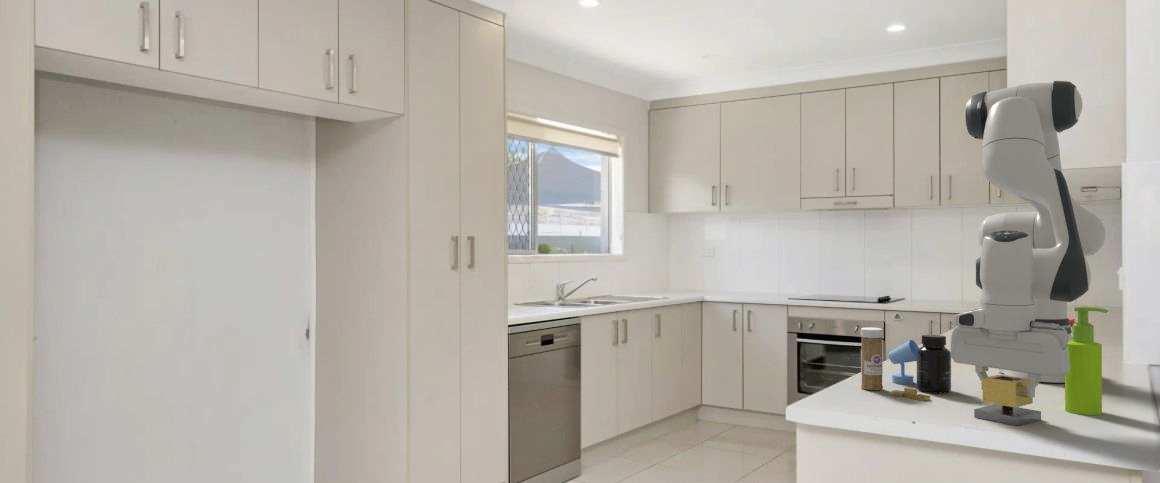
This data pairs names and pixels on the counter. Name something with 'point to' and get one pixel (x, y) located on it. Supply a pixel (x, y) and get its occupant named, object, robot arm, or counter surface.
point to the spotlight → (903, 361)
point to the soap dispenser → (1084, 368)
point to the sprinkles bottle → (871, 358)
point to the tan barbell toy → (910, 394)
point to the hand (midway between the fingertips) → (1007, 393)
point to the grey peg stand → (1007, 414)
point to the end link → (1005, 390)
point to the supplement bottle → (933, 365)
